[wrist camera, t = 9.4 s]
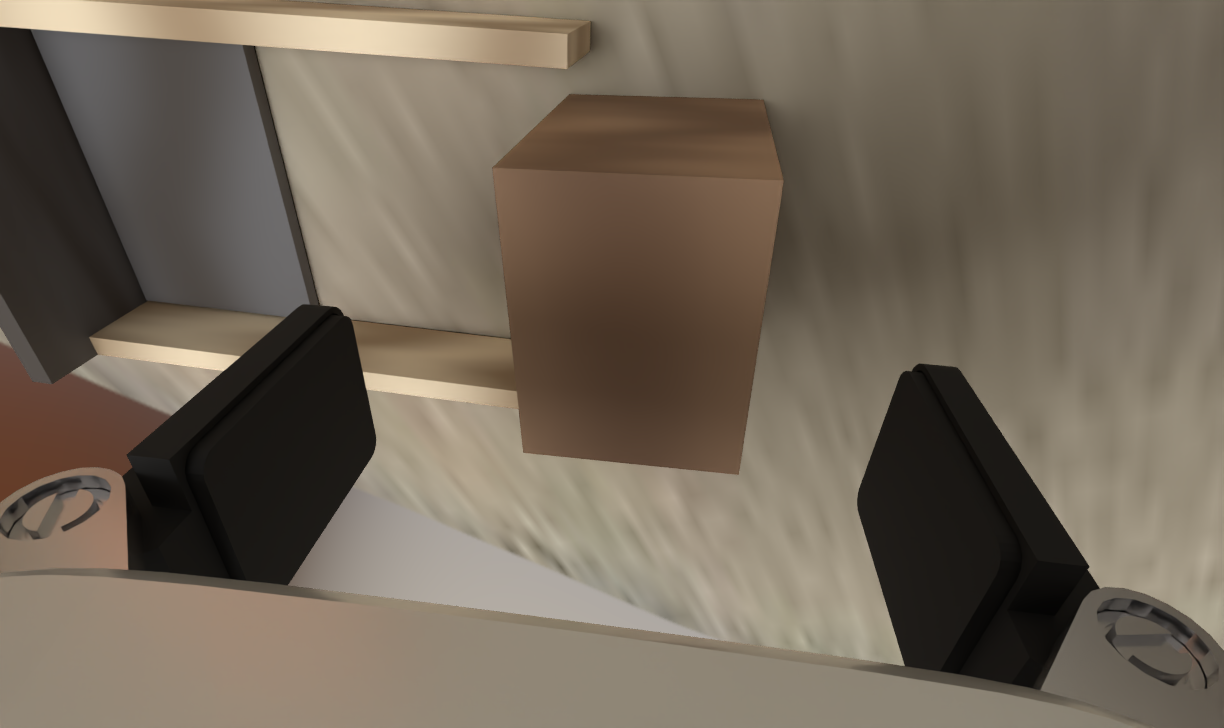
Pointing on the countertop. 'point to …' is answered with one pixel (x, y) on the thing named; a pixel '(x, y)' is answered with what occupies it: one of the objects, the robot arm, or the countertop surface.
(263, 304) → the birch chute
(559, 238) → the walnut block
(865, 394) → the countertop surface
